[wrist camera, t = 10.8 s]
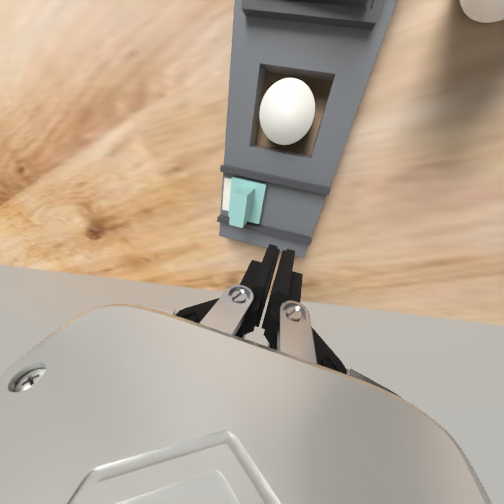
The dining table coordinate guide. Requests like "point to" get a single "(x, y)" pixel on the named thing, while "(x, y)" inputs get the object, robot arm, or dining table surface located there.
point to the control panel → (333, 119)
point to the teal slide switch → (246, 201)
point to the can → (483, 10)
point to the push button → (287, 111)
